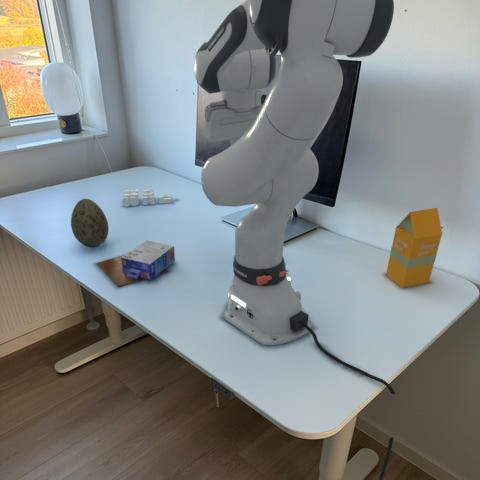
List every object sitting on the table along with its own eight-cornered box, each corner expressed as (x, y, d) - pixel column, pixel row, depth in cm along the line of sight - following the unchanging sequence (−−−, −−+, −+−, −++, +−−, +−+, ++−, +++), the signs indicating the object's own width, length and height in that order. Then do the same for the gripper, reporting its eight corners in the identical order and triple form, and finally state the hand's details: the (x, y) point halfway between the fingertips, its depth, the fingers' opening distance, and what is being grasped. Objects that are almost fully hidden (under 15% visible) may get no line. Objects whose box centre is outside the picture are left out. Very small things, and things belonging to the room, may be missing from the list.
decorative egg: (94, 235, 151) (85, 190, 142) (118, 242, 146) (111, 197, 138) (68, 248, 143) (57, 201, 135) (93, 256, 139) (84, 208, 130)
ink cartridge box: (148, 256, 138) (117, 277, 128) (146, 239, 135) (114, 259, 125) (176, 262, 135) (146, 285, 124) (174, 245, 132) (144, 266, 121)
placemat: (143, 250, 142) (143, 249, 142) (167, 271, 131) (167, 270, 131) (96, 264, 135) (96, 262, 135) (118, 287, 124) (118, 286, 124)
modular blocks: (124, 206, 171) (122, 196, 169) (124, 200, 177) (123, 190, 175) (177, 203, 175) (176, 192, 172) (176, 196, 180) (175, 186, 178)
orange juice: (385, 274, 130) (399, 206, 118) (411, 269, 132) (427, 202, 121) (402, 288, 124) (419, 218, 112) (429, 282, 126) (448, 213, 115)
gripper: (211, 104, 110) (213, 163, 118) (278, 96, 120) (275, 151, 128) (197, 100, 114) (200, 157, 122) (263, 92, 124) (262, 146, 132)
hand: (239, 154), depth 125 cm, fingers closed
